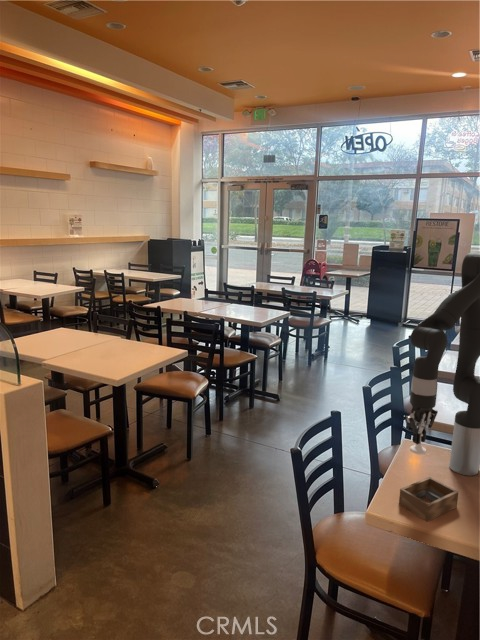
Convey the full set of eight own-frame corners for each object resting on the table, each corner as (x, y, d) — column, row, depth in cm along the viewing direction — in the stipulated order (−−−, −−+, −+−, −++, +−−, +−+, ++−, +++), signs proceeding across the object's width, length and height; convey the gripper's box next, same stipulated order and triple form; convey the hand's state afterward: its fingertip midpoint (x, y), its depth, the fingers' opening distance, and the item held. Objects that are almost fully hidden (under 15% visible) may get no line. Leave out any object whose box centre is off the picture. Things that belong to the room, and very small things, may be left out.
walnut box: (428, 491, 147) (429, 476, 146) (456, 507, 139) (458, 492, 138) (398, 503, 140) (400, 488, 139) (427, 521, 132) (429, 505, 131)
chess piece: (427, 455, 144) (430, 425, 142) (411, 453, 145) (413, 424, 143) (424, 448, 149) (427, 419, 147) (408, 446, 150) (411, 417, 148)
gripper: (427, 383, 150) (422, 432, 153) (399, 390, 142) (394, 442, 146) (448, 390, 143) (442, 441, 147) (419, 398, 136) (414, 452, 140)
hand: (418, 441), depth 146 cm, fingers closed on chess piece
